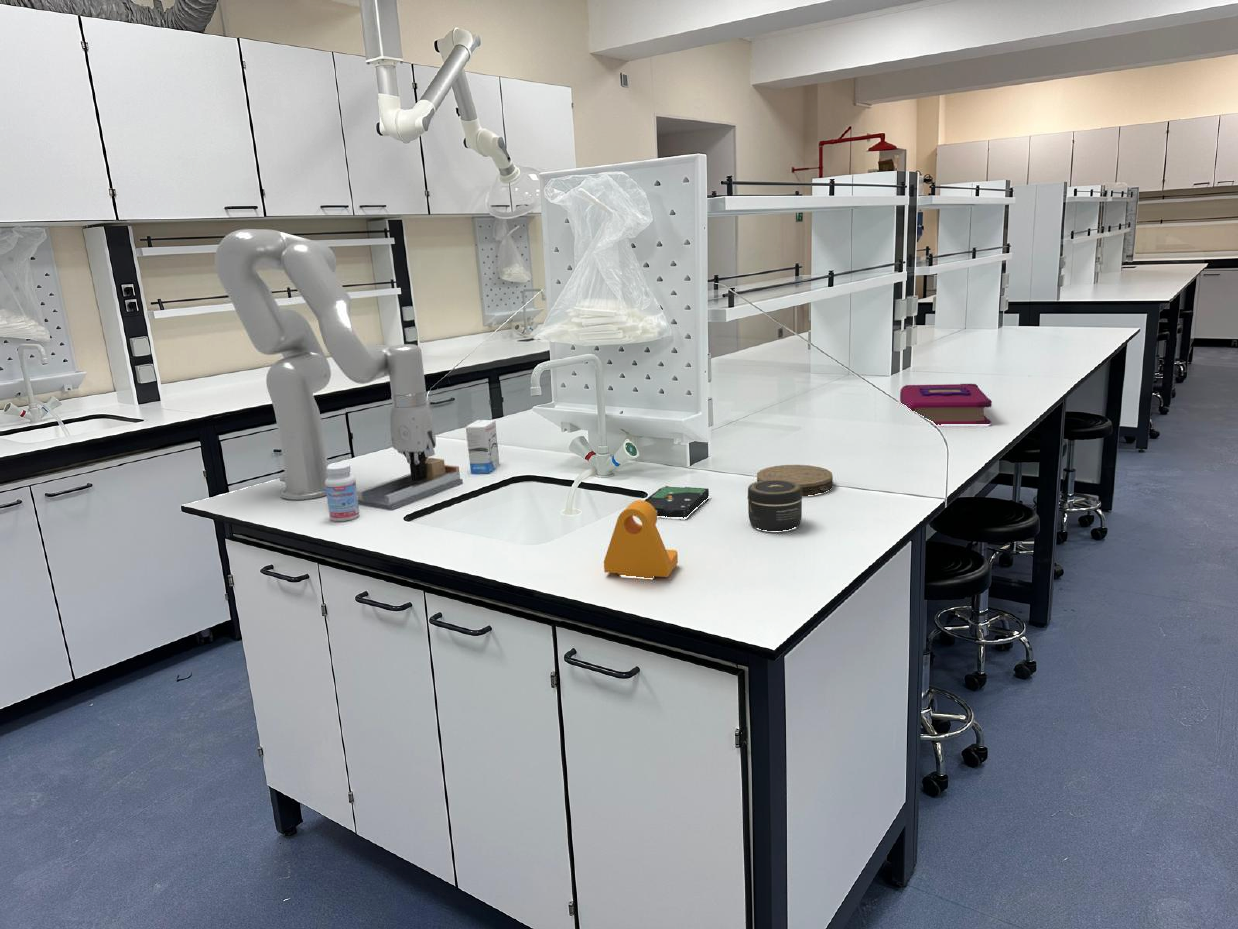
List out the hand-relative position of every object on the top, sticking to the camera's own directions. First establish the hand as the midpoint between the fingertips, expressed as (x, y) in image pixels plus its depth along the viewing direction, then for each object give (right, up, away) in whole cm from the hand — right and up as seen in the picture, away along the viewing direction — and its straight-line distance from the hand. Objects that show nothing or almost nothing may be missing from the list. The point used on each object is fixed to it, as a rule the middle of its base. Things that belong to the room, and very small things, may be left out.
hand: (419, 479), depth 198 cm
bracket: (+50, -15, -54) cm, 75 cm away
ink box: (+13, +2, +16) cm, 21 cm away
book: (+137, +16, +46) cm, 145 cm away
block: (+2, -1, +3) cm, 4 cm away
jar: (+75, -8, -36) cm, 84 cm away
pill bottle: (-12, -8, -16) cm, 22 cm away
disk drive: (+57, -6, -22) cm, 61 cm away
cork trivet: (+83, -2, -12) cm, 84 cm away
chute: (-1, -3, -1) cm, 4 cm away
